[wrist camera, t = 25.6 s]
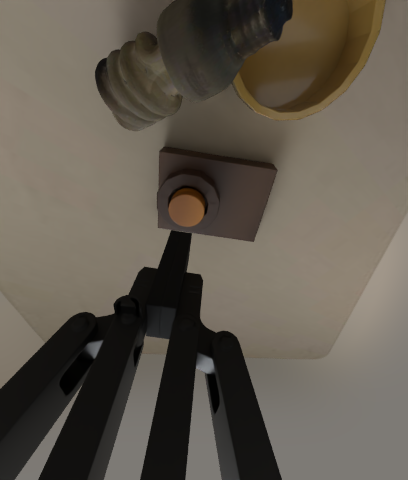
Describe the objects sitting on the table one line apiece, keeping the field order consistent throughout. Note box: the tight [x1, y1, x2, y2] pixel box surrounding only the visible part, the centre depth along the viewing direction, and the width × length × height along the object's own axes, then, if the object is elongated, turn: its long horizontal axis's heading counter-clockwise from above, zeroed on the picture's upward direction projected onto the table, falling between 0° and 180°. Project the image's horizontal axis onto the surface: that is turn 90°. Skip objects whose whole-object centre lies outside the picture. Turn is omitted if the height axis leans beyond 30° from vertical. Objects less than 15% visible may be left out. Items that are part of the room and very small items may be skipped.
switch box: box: [157, 147, 278, 242], centre depth 24 cm, size 12×9×4 cm
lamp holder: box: [231, 0, 386, 120], centre depth 16 cm, size 10×10×4 cm
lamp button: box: [168, 188, 205, 227], centre depth 22 cm, size 4×4×2 cm
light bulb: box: [95, 0, 293, 131], centre depth 15 cm, size 6×6×15 cm
